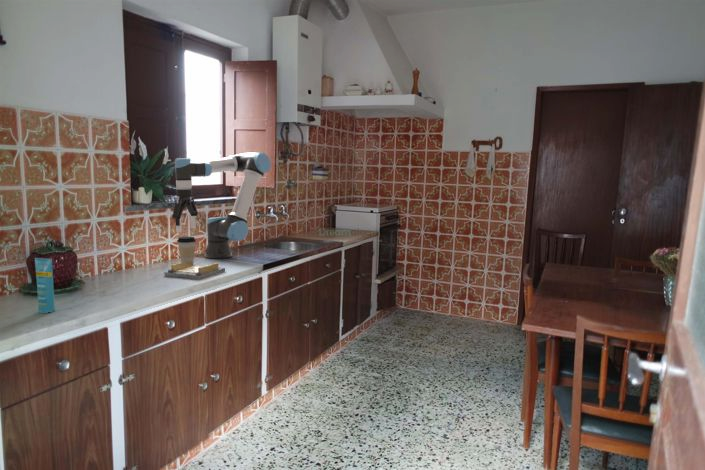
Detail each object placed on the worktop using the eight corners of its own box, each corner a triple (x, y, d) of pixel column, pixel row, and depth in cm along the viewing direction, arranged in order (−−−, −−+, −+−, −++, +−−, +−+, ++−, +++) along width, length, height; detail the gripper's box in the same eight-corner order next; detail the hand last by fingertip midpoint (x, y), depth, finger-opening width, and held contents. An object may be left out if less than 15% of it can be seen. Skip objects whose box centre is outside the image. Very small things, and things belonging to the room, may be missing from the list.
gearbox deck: (192, 268, 248) (191, 258, 248) (225, 271, 242) (225, 261, 241) (164, 276, 230) (164, 265, 229) (199, 280, 223) (199, 269, 222)
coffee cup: (190, 267, 250) (189, 239, 248) (174, 266, 252) (173, 238, 250) (200, 264, 259) (199, 236, 257) (183, 263, 261) (183, 236, 259)
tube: (32, 312, 169) (28, 258, 167) (43, 309, 174) (39, 256, 172) (51, 314, 168) (47, 259, 166) (61, 310, 173) (58, 257, 170)
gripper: (190, 187, 260) (192, 226, 263) (163, 190, 235) (165, 233, 239) (203, 187, 258) (205, 227, 261) (177, 190, 234) (179, 233, 237)
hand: (186, 230), depth 250 cm, fingers open, 13 cm apart
